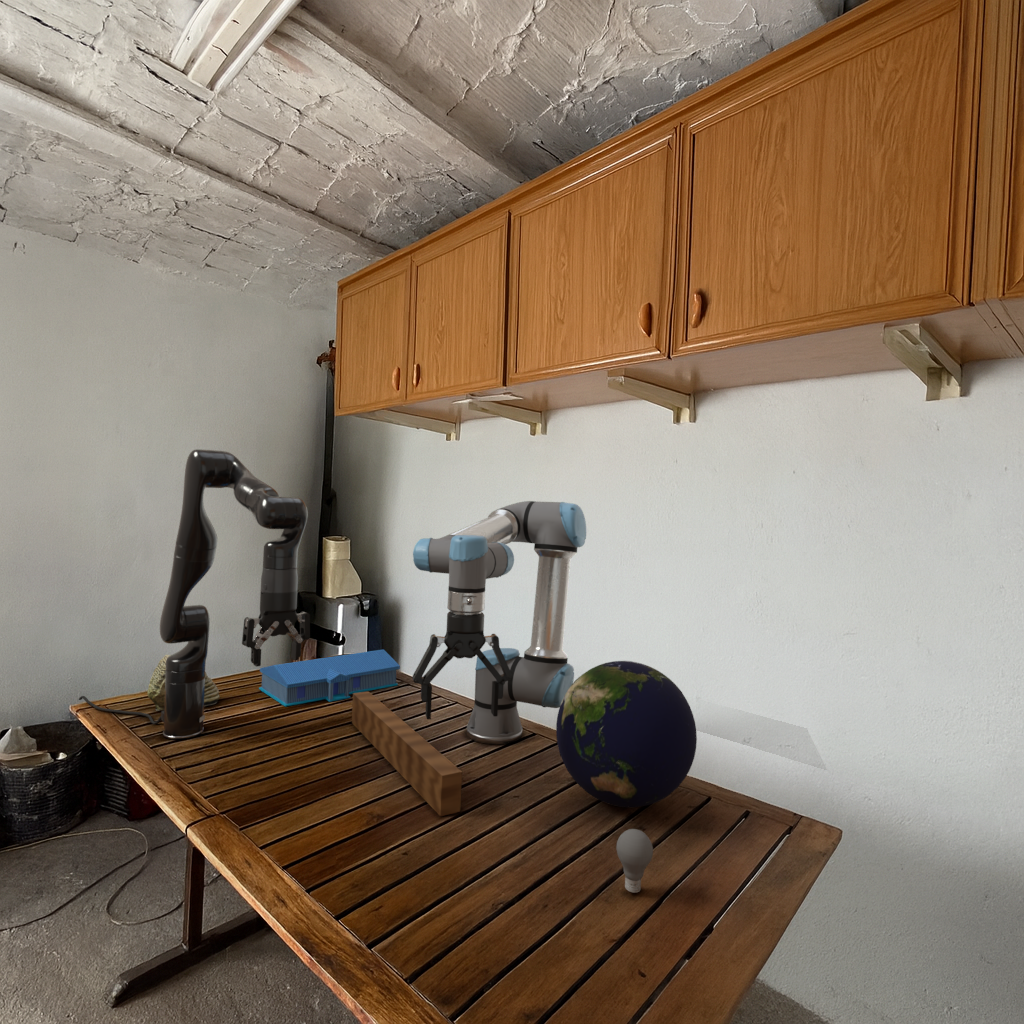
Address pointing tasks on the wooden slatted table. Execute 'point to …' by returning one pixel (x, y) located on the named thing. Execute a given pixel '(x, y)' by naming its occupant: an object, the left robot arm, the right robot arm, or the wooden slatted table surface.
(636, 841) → the light bulb
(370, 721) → the post
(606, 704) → the globe
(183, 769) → the wooden slatted table surface
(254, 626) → the left robot arm
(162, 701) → the fossil
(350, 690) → the model building
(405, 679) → the wooden slatted table surface
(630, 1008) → the wooden slatted table surface
